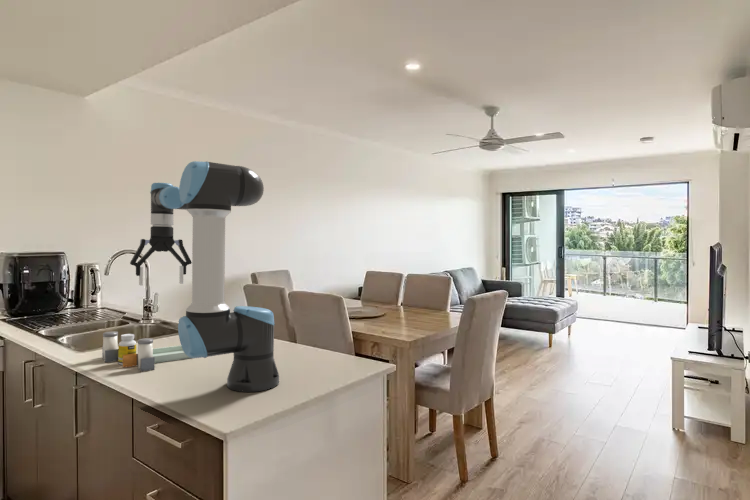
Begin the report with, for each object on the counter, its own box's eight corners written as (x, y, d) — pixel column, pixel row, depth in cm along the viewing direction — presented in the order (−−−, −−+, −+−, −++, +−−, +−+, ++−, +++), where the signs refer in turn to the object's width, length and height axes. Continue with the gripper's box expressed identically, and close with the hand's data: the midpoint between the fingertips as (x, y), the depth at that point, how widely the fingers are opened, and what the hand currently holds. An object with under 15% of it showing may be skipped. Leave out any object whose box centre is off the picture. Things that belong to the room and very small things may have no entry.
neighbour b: (118, 359, 161) (118, 333, 160) (103, 361, 158) (103, 334, 158) (116, 356, 164) (116, 330, 164) (102, 358, 162) (102, 332, 161)
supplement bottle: (128, 366, 153) (128, 337, 153) (114, 364, 154) (114, 336, 154) (139, 361, 158) (139, 333, 158) (126, 360, 160) (126, 332, 159)
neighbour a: (154, 368, 151) (154, 340, 151) (139, 370, 148) (139, 341, 148) (151, 365, 155) (151, 337, 155) (136, 367, 152) (136, 339, 152)
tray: (197, 357, 166) (197, 350, 166) (149, 363, 156) (149, 356, 156) (188, 350, 175) (188, 344, 175) (142, 356, 166) (142, 349, 166)
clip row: (154, 369, 150) (154, 357, 150) (112, 375, 142) (112, 362, 142) (139, 352, 170) (139, 342, 170) (102, 357, 163) (102, 346, 163)
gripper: (195, 227, 175) (194, 281, 176) (121, 224, 161) (121, 284, 161) (200, 227, 169) (199, 283, 170) (124, 224, 155) (124, 286, 155)
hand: (161, 284), depth 166 cm, fingers open, 13 cm apart
